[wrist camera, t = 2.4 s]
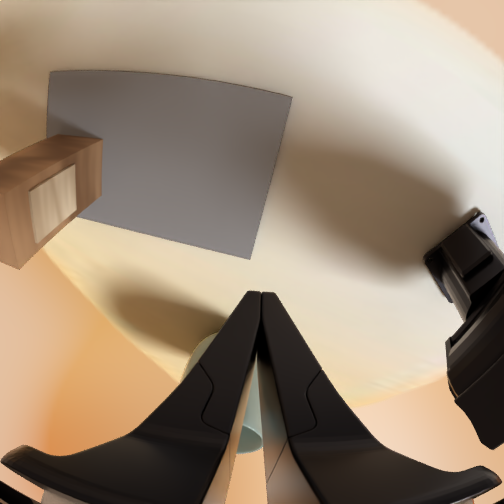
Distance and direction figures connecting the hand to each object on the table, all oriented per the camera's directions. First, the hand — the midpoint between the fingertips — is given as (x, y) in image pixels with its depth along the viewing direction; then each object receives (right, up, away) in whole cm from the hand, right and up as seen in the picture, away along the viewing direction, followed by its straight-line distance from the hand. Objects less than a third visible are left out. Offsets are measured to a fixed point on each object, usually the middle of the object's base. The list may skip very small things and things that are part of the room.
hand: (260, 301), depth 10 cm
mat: (-8, +8, +11) cm, 16 cm away
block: (-13, +8, +11) cm, 19 cm away
